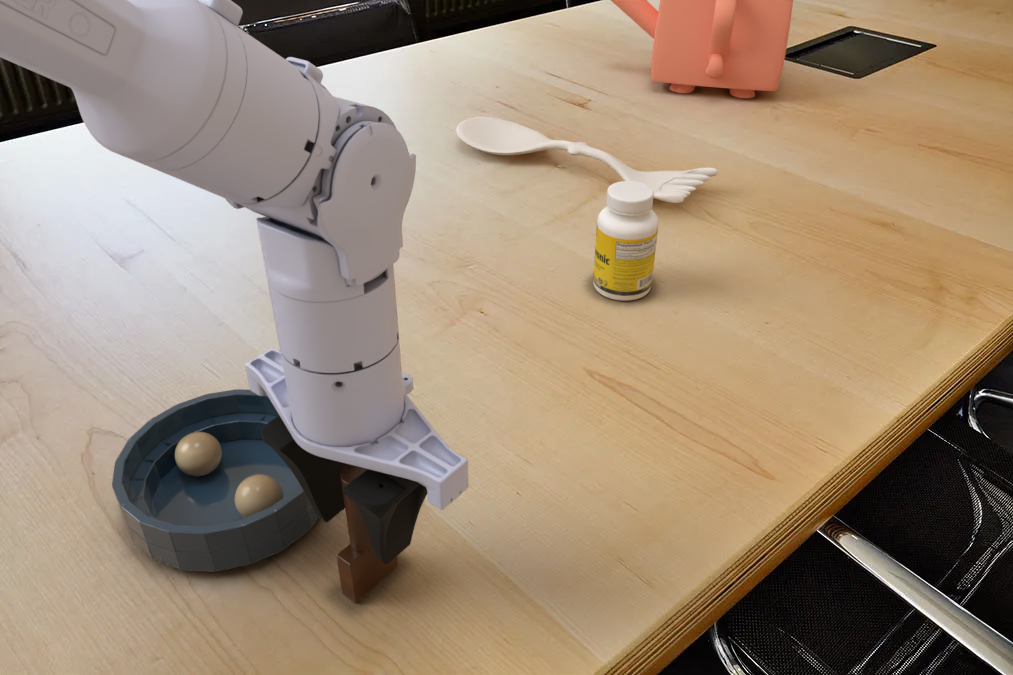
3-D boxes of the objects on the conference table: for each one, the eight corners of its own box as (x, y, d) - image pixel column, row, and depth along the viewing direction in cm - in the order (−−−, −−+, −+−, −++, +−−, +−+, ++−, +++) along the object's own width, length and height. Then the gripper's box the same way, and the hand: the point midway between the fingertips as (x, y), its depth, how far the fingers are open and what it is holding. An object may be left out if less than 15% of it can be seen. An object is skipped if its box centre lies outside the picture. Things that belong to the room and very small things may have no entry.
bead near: (259, 539, 54) (251, 506, 52) (229, 516, 55) (220, 483, 53) (296, 511, 55) (289, 478, 54) (266, 490, 57) (259, 457, 55)
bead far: (197, 492, 57) (188, 459, 55) (170, 472, 58) (160, 439, 57) (234, 467, 59) (226, 435, 57) (208, 449, 60) (199, 416, 58)
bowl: (210, 615, 50) (196, 570, 47) (88, 509, 56) (70, 465, 54) (374, 487, 58) (369, 443, 56) (251, 408, 65) (242, 365, 62)
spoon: (678, 225, 89) (682, 194, 87) (442, 149, 104) (441, 122, 102) (715, 194, 95) (720, 165, 93) (486, 127, 110) (486, 101, 108)
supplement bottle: (589, 271, 81) (596, 176, 76) (646, 271, 81) (657, 176, 76) (595, 302, 77) (602, 204, 71) (655, 302, 77) (667, 204, 71)
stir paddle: (359, 606, 50) (343, 499, 45) (338, 591, 51) (320, 483, 46) (402, 568, 53) (392, 461, 47) (381, 554, 53) (369, 447, 48)
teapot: (593, 98, 119) (602, -39, 109) (612, 50, 137) (622, -72, 127) (778, 114, 115) (806, -27, 104) (773, 62, 133) (796, -63, 122)
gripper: (508, 356, 40) (506, 549, 48) (303, 258, 48) (330, 439, 55) (404, 435, 36) (420, 633, 44) (195, 313, 43) (241, 502, 51)
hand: (364, 530), depth 49 cm, fingers open, 4 cm apart
